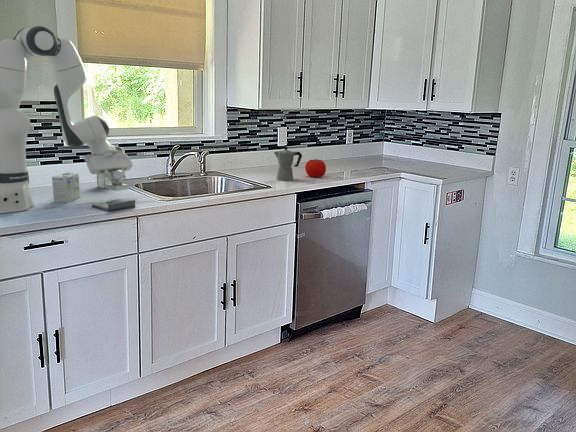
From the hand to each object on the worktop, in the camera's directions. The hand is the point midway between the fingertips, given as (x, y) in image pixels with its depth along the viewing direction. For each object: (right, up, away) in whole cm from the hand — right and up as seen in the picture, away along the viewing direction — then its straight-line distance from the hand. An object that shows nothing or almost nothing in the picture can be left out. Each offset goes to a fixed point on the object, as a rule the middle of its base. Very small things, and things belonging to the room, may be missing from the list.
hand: (118, 179), depth 229 cm
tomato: (+88, +6, +75) cm, 116 cm away
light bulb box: (-21, -9, -2) cm, 23 cm away
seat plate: (+2, -12, -10) cm, 16 cm away
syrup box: (-14, -2, +26) cm, 30 cm away
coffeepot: (+72, +4, +64) cm, 96 cm away
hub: (-1, -4, +1) cm, 4 cm away
